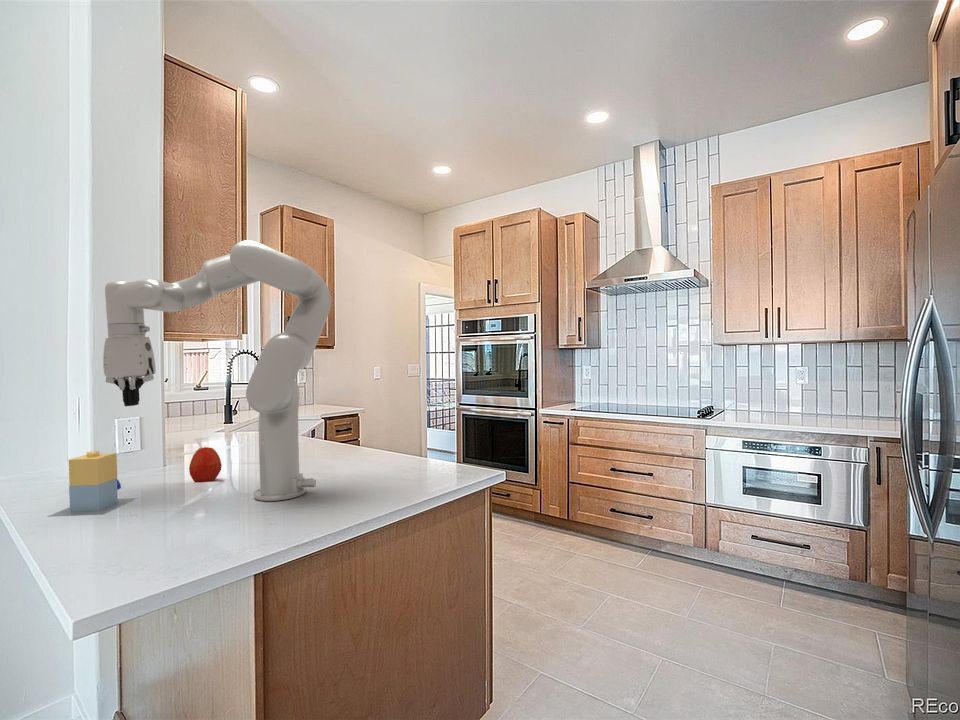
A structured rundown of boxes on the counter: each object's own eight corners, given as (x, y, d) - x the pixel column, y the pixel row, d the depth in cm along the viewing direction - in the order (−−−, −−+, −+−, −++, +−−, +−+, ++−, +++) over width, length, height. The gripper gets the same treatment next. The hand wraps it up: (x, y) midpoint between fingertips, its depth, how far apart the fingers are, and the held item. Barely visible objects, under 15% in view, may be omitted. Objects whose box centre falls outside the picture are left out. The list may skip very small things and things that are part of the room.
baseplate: (137, 503, 123) (136, 494, 123) (103, 519, 111) (103, 509, 111) (87, 504, 123) (86, 496, 122) (47, 521, 111) (47, 511, 110)
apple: (228, 481, 143) (227, 444, 143) (199, 488, 136) (198, 449, 136) (212, 477, 147) (211, 441, 147) (183, 484, 140) (182, 446, 140)
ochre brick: (117, 477, 120) (116, 448, 120) (98, 484, 114) (97, 454, 114) (90, 478, 120) (88, 449, 120) (69, 485, 113) (68, 455, 113)
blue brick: (117, 502, 120) (116, 473, 120) (99, 510, 114) (97, 480, 114) (90, 503, 120) (89, 474, 120) (70, 511, 113) (68, 481, 113)
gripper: (166, 331, 127) (171, 402, 128) (104, 333, 126) (109, 405, 126) (149, 329, 120) (154, 405, 120) (83, 332, 118) (89, 409, 119)
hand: (131, 405), depth 123 cm, fingers closed
